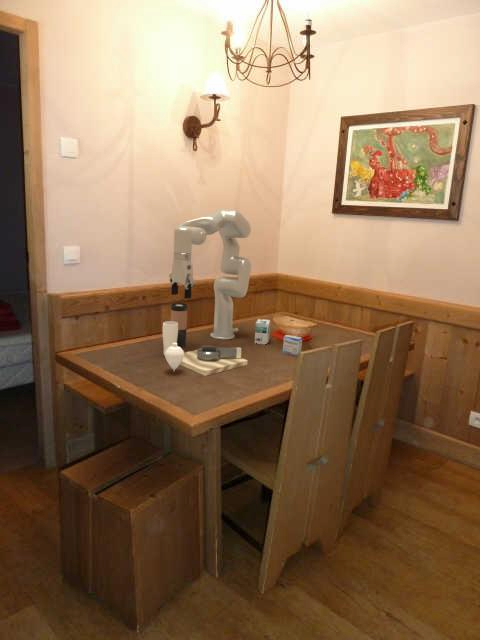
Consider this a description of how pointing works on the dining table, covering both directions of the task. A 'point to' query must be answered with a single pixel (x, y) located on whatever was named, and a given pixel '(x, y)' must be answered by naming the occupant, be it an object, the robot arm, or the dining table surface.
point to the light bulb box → (262, 331)
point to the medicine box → (292, 344)
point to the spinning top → (174, 356)
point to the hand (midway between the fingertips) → (181, 296)
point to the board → (210, 364)
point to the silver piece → (217, 353)
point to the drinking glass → (169, 334)
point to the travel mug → (180, 321)
